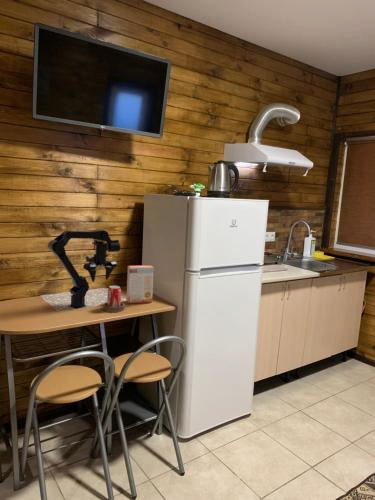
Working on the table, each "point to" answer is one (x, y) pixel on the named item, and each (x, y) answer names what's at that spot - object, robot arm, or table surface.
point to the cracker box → (140, 284)
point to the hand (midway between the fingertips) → (100, 280)
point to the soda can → (114, 296)
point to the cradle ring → (114, 308)
